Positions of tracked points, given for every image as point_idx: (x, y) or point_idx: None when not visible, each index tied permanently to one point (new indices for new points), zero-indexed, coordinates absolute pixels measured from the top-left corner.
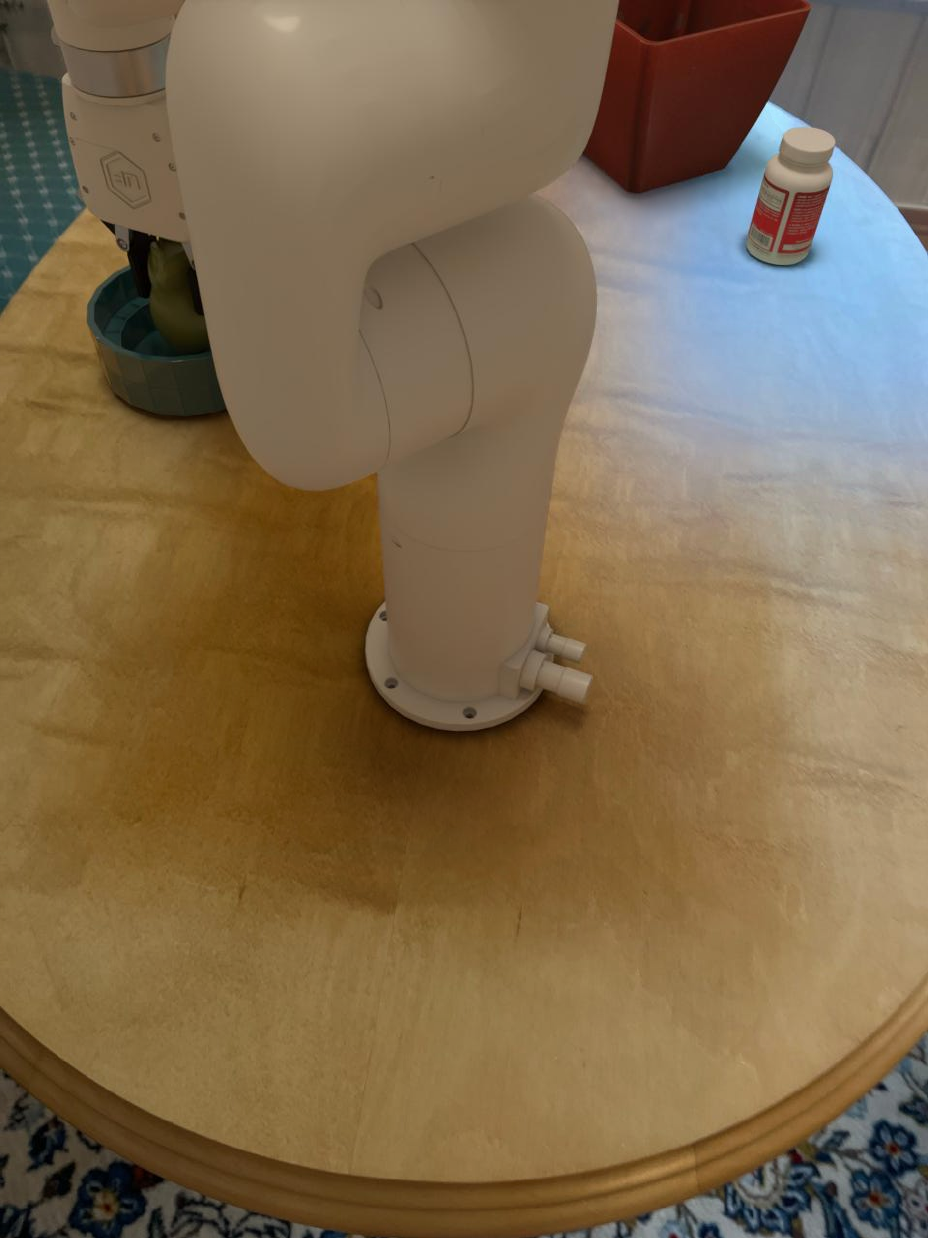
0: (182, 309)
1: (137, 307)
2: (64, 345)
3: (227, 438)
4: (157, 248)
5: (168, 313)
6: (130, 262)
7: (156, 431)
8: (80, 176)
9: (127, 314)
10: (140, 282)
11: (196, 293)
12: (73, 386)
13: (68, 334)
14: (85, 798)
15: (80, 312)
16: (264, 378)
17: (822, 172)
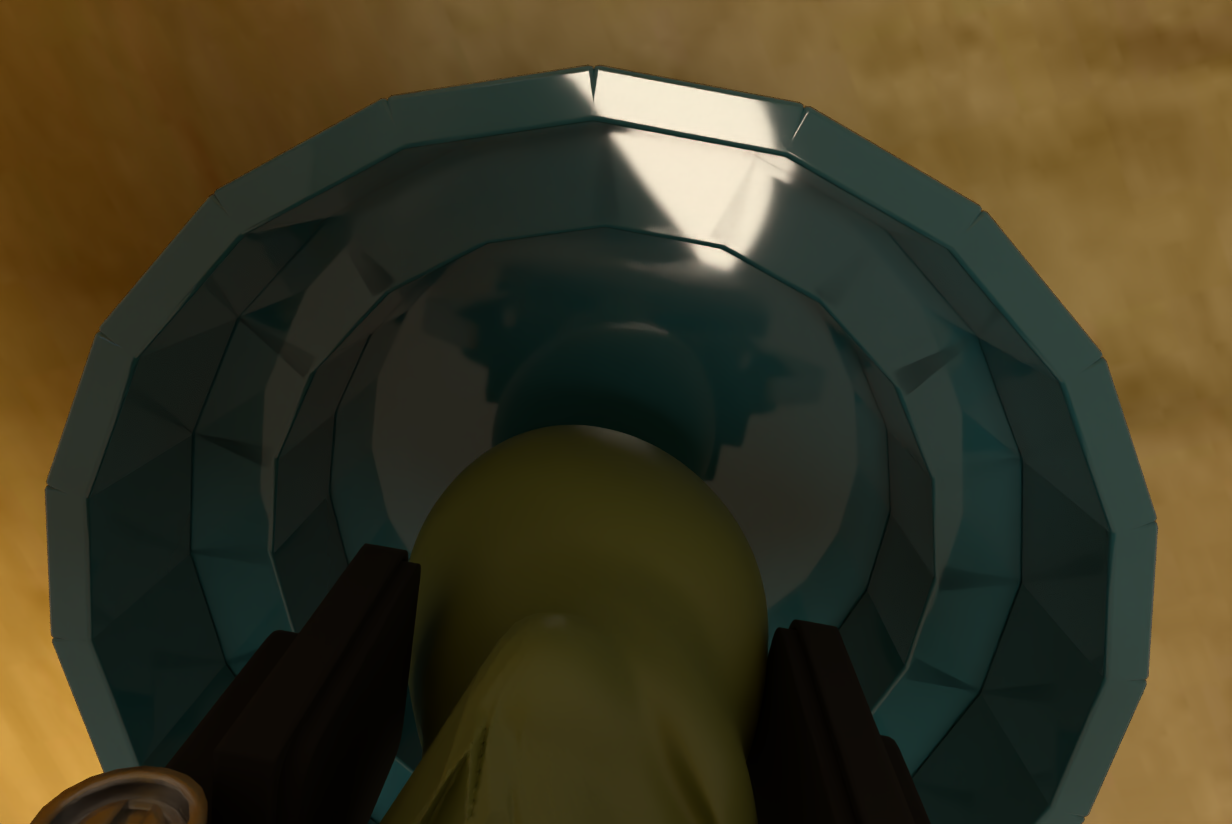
0: (505, 562)
1: (916, 666)
2: (1209, 467)
3: (273, 60)
4: None
5: (588, 519)
6: (895, 809)
7: (593, 18)
8: None
9: (946, 610)
10: (818, 693)
11: (311, 630)
12: (1082, 219)
13: (1213, 535)
14: None
15: (1203, 670)
16: None
17: None
